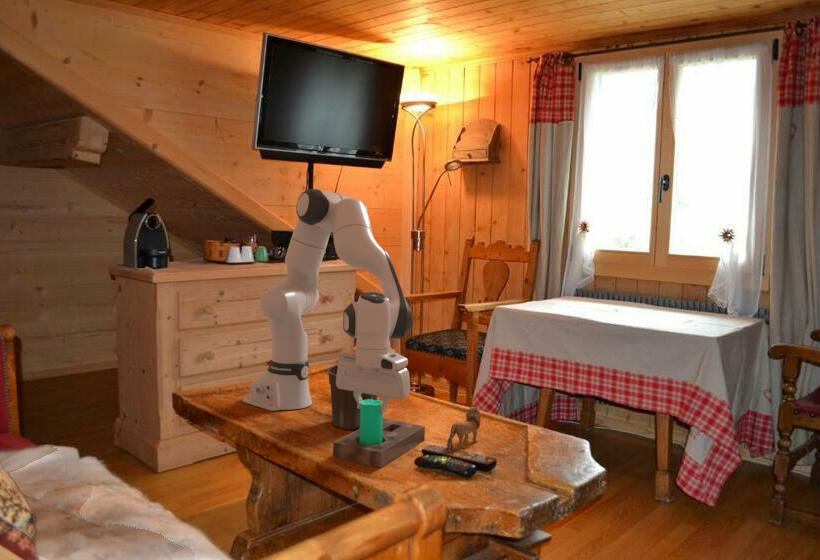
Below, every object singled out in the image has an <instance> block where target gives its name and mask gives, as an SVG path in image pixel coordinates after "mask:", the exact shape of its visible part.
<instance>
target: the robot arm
mask: <svg viewBox="0 0 820 560" xmlns="http://www.w3.org/2000/svg"><path fill="white" fill-rule="evenodd" d="M295 210H296V214H297V217H298V220H297V222H296V224H295V226H294V227H295V228H294V229H293V232H292V234H291V238H290V240H289V241H290V242H289V244H288V247H287V250H286V251H287V252H286V253H285V257H284V263H285V265H286V277H285V281H284V282H283V283H278V284H274V285H273V286H271V287H269V288H267V289H266V290H265V291H264V292H263V293H262V294H261V297H260V299H259V307H260V310H261V311H262V313H263V315H264V316H265V317H266V318H267V321H268V324H269V329H270V332H271V344H272V345H271V346H272V347H271V349H272V351H271V353H272V354H271V355H272V357H271V358H272V359H270V360H269V361H266V362H264V363H265V365H264V366H265V367H266V366H268V367H267V370H266V371H265V372H264V373H262V374H261V375H260V376H259V377H257V378H256V379H254V380H253V381H252V383H251V385H250V389H249V394H247V395H245V396H243V398H242V403H244V404H249V405H252V406H255V407H258V408H261V409H265V410H268V411H271V412H274V411H281V410H282V411H285V410H286V411H287V410H300V409H304V408H307V407H310V406H311V405H312V404H313V401H312V396H311V392H310V386H309V385H310V384H309V374H310V373H309V372H310V371H309V370H310V360H309V359H308V356H309V355H308V354H309V353H308V352H309V351H308V346H309V336H308V334H307V333H306V331H305V330H304V327H303V322H302V315H304V314H307V313H309V312H310V311H312V310H313V309H314V308H315V307H316V306H317V304H319V300H320V292H319V289H318V283H319V273H320V269H321V265H322V264H323V263H322V262H323V258H324V256H325V254H326V253H325V252H326V249H327V246H328V243H329V240H330V239H329V238H330V236H331V234H332V235H333V236H332V237H333V245H334V248H335V253H336V255H337V256H338V258H339V259H340V260H341V261H342V262H344V263H345V264H347V265H348V266H350V267H353V268H356V269H360V270H362V271H365V272H368V273H370V274H372V275H373V276H375V277H376V278H377V279H378V281H379V282H380V285H381V288H382V290H383V293H384V294H383V293H380V292H374V291H372V292H371V291H370V292H369V291H367V292H364V293H361V294H360V295H359V297H358V301H356V302H351V303H350V304H349V305H347V307H345V309H344V310H343V316H342V317H343V318H342V319H343V323H342V325H343V326H342V327H343V331H344V332H345V334H346V335H348V336H349V337H350V338H354V339H356V342H355V353H354V354H350V353H342V354H340V355H339V356H338V358H337V365H338V369H337V375H336V386H337V387H338V389H343V390H349V391H354V393H353V395H354V397H355V399H356V401H357V408H358V409H360V403H361V401H363V400H362V397H361V394H362V393H366V394H372V395H377V397H381V401H382V402H383V403H382V405H381V406H380V413H383V414H385V413H386V412H387V406H388V404H389V403H390V401H391V399H396V400H403V399H406V398H408V396H409V395H410V393H411V379H410V377H411V376H410V371H409V370H408V369H407V368H406V367H407V366H408V364H409V359H408V358H407V357H405V356H403V355H402V354H399V353H397V352H396V351H394V350H392V349H391V340H390V339H392V340H393V339H395V340H398V339H399V340H401V339H404V338H405V337H406V336H407V335H408V334H409V333H410V331H412V329H413V326H414V317H413V312H412V309H411V307H410V305H409V303H408V302H407V300H406V297H405V295H404V293H403V292H404V291H403V289H402V287H401V283H400V281H399V278H398V275H397V272H396V269H395V267H394V265H393V262H392V260H391V257H390V255H389V253H388V251H387V250H385V249H384V248H382V247H381V246H380V245H379V244H378V242H377V241H376V238H375V237H374V235H373V229H372V224H371V223H372V222H371V220H370V219H371V218H370V217H369V210H368V206H367V204H366V203H364V202H363V201H361V200H360V199H358V198H354V197H349V195H346V194H345V195H344V194H341V193H338V192H330V191H325V190H320V189H318V188H309V189H306V190H303V192H301V194H300V195H299V197H298V199H297V202H296V208H295Z"/></svg>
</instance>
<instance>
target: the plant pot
mask: <svg viewBox="0 0 820 560" xmlns="http://www.w3.org/2000/svg"><path fill="white" fill-rule="evenodd" d="M337 369H338V364H336V365H332V366H329V367H328V368H327V371H326V372H327V374H328V383H329V386H330V399H331V400H330V401H331V402H330V403H331V418H332V422H331V423H332V424H333V425H334V426H335V427H336V428H339V429H342V430H350V431H351V430H353V431H354V430H355V431H356V430H357V429H360V409H358V408H357V401H356V399H355V397H354V395H353V393H354V391H349V390H343V389H338V387H337V386H336V375H337ZM361 397H362V400H367V399H372V400H378V395H372V394H366V393H362V394H361Z"/></svg>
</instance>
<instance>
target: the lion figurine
mask: <svg viewBox="0 0 820 560" xmlns="http://www.w3.org/2000/svg"><path fill="white" fill-rule="evenodd" d="M466 411H467V412H466V413H465V417H466V418H465V421H464V420H463V421H457V422H454V423H453V424H452V425H451V429H450V433H449V437H448V438H447V442H446V448H447V447H449V448H448V449H450V448H451V449H452V450H453V448H454V446H453V439H454V437H455V436H456V435H457V437H458V444H459V446H460V448H461V449H466V445H464V444H463V441H464V442H468V441H469V434H471V433H472V442H473V443H475V444H477V443H478V440H477V435H478V430H479V429H480V428H481V427H480V426H481V412H480V410H479V408H478V407H475V406H473V407H472V406H471V407H470V408H468V409H467V410H466Z"/></svg>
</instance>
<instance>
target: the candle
mask: <svg viewBox="0 0 820 560" xmlns="http://www.w3.org/2000/svg"><path fill="white" fill-rule="evenodd" d="M382 403H383V400H382V399H381V400H380V399H377V400H372V399H367V400H363V401H361V403H360V428H359V429H360V443H361V444H364V445H379V444H382V437H383V418H384V413H380V406H381V405H382Z"/></svg>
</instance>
